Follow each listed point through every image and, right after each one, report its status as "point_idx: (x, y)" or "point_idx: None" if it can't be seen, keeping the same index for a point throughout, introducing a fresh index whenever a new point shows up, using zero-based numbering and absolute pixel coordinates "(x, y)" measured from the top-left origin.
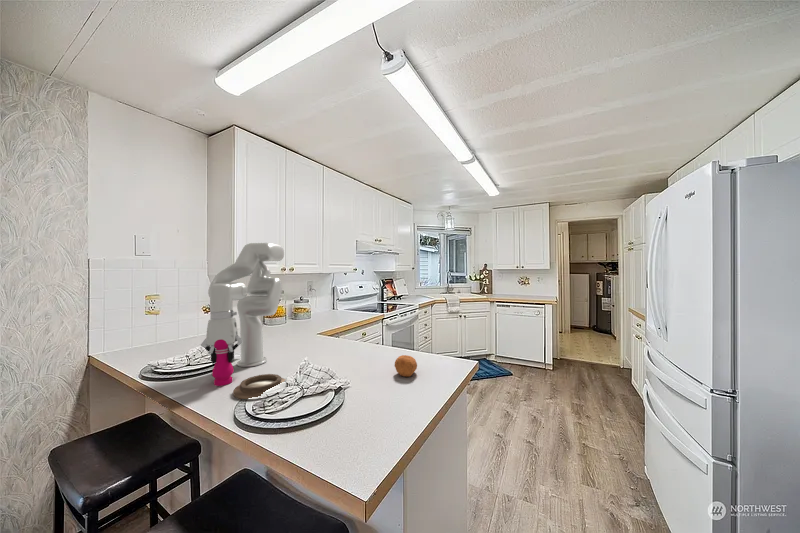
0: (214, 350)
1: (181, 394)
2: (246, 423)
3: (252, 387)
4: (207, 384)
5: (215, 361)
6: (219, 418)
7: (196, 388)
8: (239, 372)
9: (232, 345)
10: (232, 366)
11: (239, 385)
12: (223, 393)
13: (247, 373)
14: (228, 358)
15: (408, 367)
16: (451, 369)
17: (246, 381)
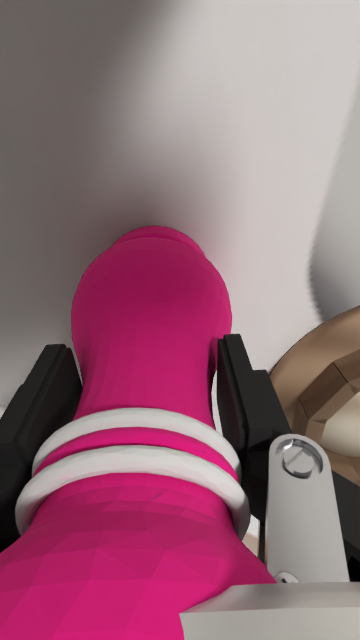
0: (10, 514)
1: (9, 383)
2: None
3: (357, 484)
4: (59, 277)
5: (78, 392)
6: (256, 529)
7: (31, 326)
8: (199, 3)
9: (310, 544)
10: (229, 324)
11: (280, 386)
12: (213, 405)
13: (286, 75)
14: (223, 431)
15: None
16: None
17: (326, 415)
